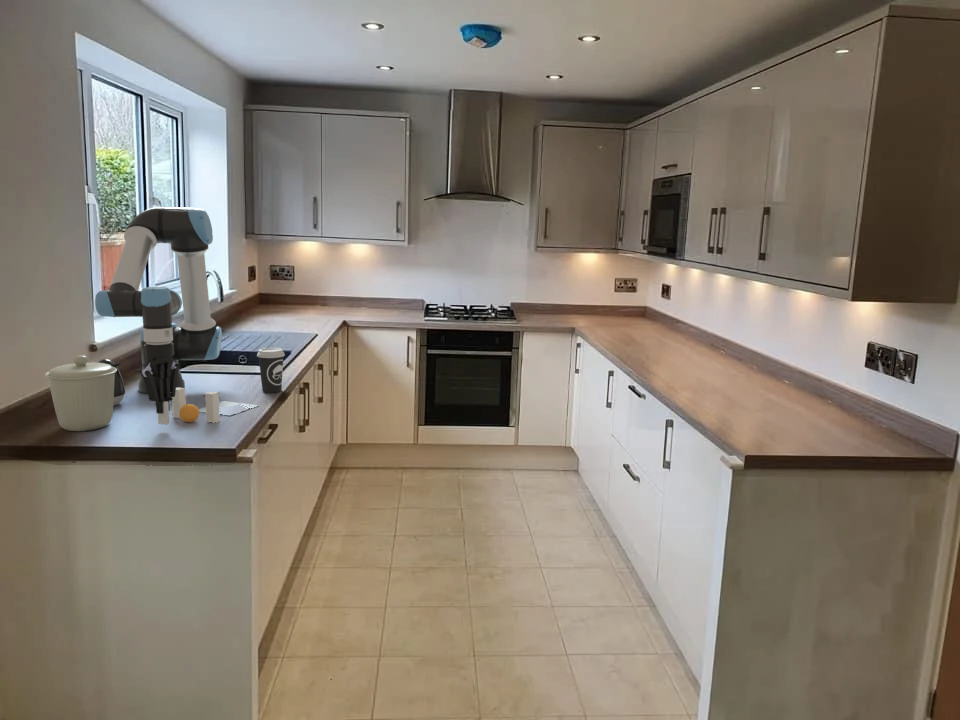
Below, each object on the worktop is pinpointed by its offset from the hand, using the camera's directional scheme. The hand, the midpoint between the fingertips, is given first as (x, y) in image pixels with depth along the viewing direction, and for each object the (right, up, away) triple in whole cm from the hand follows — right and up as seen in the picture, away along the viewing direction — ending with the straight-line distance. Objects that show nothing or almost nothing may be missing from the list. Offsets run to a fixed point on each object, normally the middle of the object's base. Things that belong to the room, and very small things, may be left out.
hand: (163, 423), depth 205 cm
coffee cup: (+16, +7, +50) cm, 53 cm away
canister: (-24, -1, +3) cm, 24 cm away
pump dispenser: (-30, +3, +27) cm, 40 cm away
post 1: (-1, +1, +15) cm, 15 cm away
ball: (+4, +2, +9) cm, 10 cm away
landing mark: (+9, +2, +25) cm, 27 cm away
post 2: (+10, -1, +10) cm, 15 cm away
